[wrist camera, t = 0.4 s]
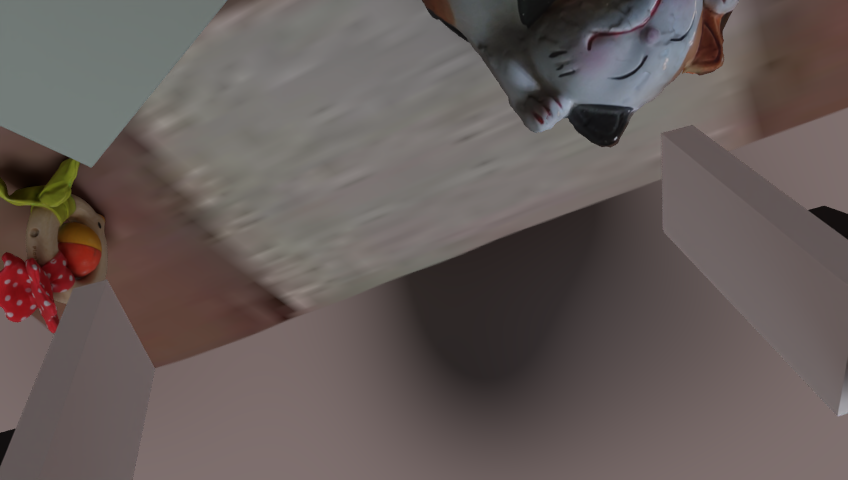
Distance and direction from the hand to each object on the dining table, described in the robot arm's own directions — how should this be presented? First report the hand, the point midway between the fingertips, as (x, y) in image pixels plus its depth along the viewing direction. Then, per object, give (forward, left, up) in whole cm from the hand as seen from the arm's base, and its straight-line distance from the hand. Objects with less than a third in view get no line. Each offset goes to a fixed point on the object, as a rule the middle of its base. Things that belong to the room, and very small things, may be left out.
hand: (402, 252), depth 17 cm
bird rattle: (+28, +2, -28) cm, 39 cm away
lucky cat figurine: (-5, +13, -28) cm, 31 cm away
